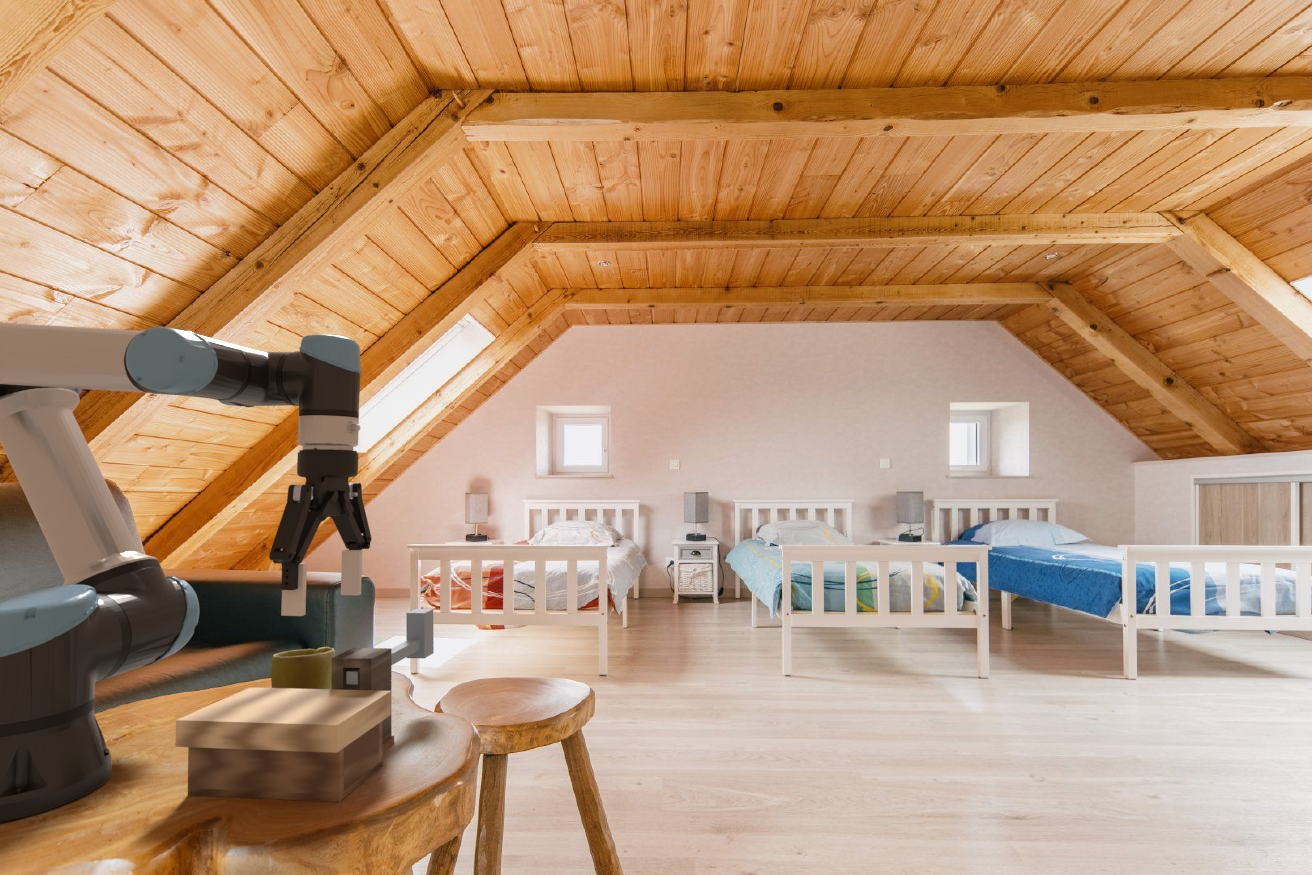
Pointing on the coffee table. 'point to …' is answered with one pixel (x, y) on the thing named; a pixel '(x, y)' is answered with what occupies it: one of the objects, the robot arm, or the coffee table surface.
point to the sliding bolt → (408, 641)
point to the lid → (285, 719)
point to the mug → (302, 669)
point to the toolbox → (299, 769)
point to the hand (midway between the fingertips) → (324, 604)
